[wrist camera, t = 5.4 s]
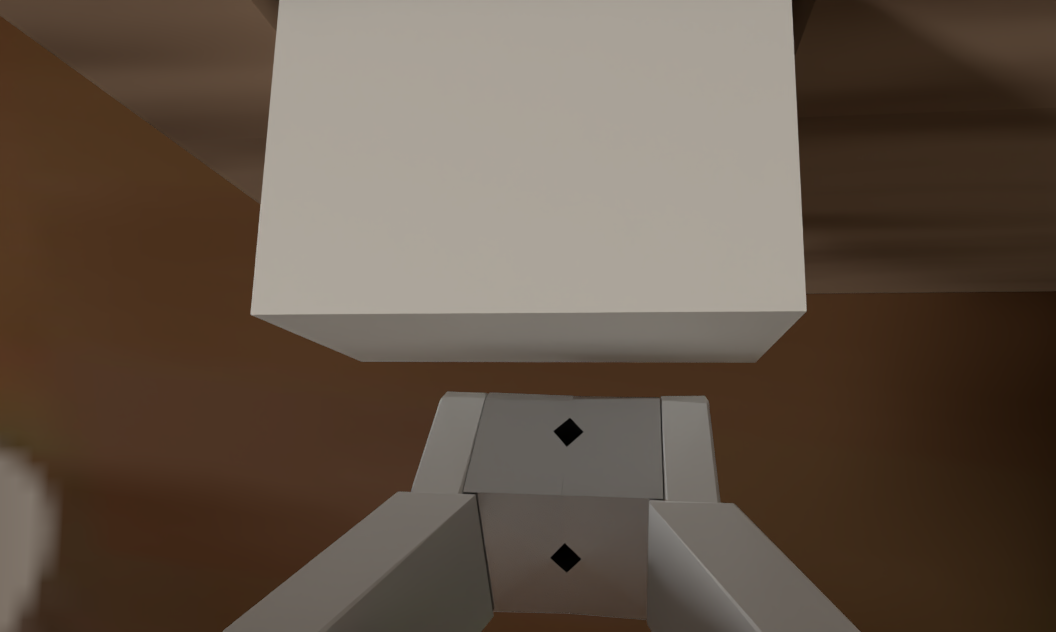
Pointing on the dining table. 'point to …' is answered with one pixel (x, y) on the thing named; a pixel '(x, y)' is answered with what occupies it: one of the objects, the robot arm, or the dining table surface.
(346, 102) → the grey block
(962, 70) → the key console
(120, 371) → the dining table surface
